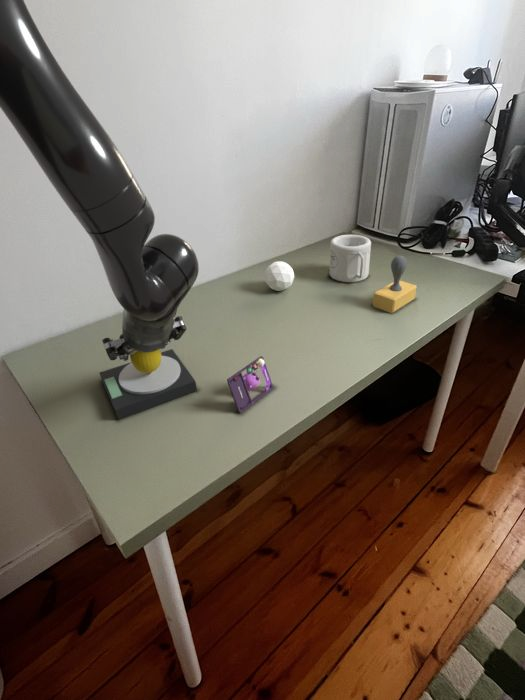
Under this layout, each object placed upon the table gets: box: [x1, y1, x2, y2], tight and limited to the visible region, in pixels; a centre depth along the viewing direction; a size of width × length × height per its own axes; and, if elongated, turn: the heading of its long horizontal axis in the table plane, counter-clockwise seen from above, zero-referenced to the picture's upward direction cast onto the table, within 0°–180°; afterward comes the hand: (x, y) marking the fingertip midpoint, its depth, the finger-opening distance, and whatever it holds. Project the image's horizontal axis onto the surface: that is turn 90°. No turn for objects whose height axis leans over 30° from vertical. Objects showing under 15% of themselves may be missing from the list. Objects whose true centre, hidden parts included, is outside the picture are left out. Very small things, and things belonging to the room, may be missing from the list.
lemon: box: [129, 348, 162, 373], centre depth 80 cm, size 6×6×8 cm
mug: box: [329, 234, 372, 283], centre depth 118 cm, size 14×11×10 cm
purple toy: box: [226, 355, 274, 414], centre depth 79 cm, size 7×5×9 cm
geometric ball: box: [264, 260, 295, 292], centre depth 114 cm, size 8×8×8 cm
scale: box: [99, 348, 198, 421], centre depth 83 cm, size 15×13×3 cm
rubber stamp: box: [372, 255, 418, 314], centre depth 103 cm, size 10×6×12 cm, turn 133°
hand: (142, 349), depth 81 cm, fingers open, 6 cm apart
